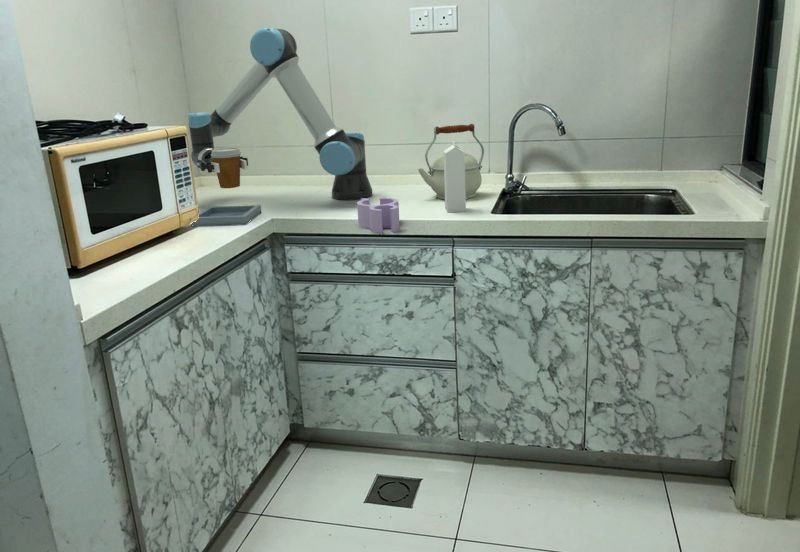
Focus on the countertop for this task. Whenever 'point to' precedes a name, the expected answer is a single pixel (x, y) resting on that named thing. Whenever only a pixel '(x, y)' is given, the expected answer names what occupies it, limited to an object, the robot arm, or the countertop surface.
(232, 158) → the disposable coffee cup
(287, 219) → the countertop surface
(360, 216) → the clip
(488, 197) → the countertop surface
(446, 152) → the milk
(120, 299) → the countertop surface
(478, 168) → the kettle
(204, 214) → the tray
